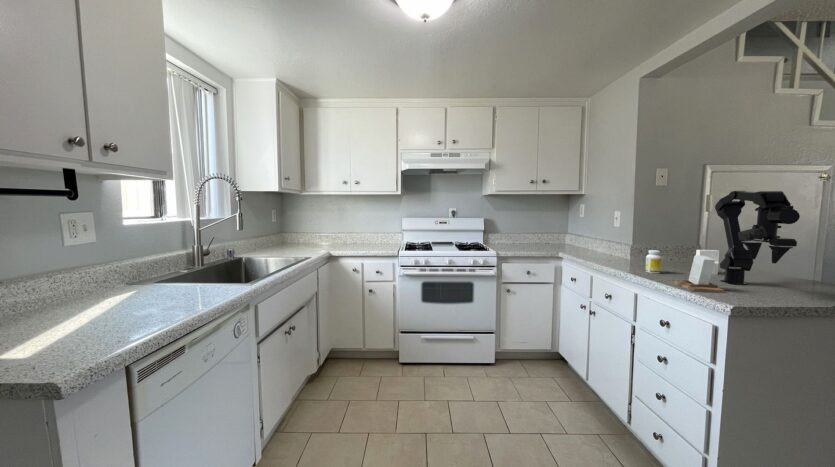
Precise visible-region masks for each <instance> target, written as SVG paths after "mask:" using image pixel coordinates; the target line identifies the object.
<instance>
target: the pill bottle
mask: <svg viewBox="0 0 835 467" xmlns="http://www.w3.org/2000/svg"><path fill="white" fill-rule="evenodd" d="M660 253H661V252H660V250H655V249H649V250H648V254H647V255H646V256H645V272H646V273H649V274H660V273H661V272H662V271H661V270H662V269H661V268H662V256H661V255H660Z"/></svg>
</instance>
